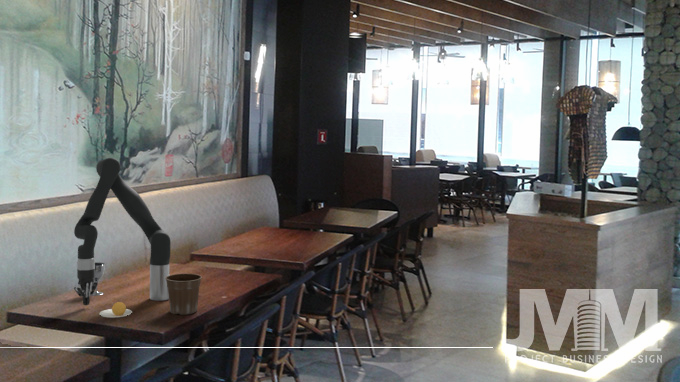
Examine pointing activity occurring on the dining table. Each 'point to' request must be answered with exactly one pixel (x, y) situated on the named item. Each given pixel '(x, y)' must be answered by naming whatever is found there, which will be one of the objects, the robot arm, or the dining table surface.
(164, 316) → the dining table surface
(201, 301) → the dining table surface
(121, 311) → the ball
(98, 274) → the wine glass
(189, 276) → the plant pot
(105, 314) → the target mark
